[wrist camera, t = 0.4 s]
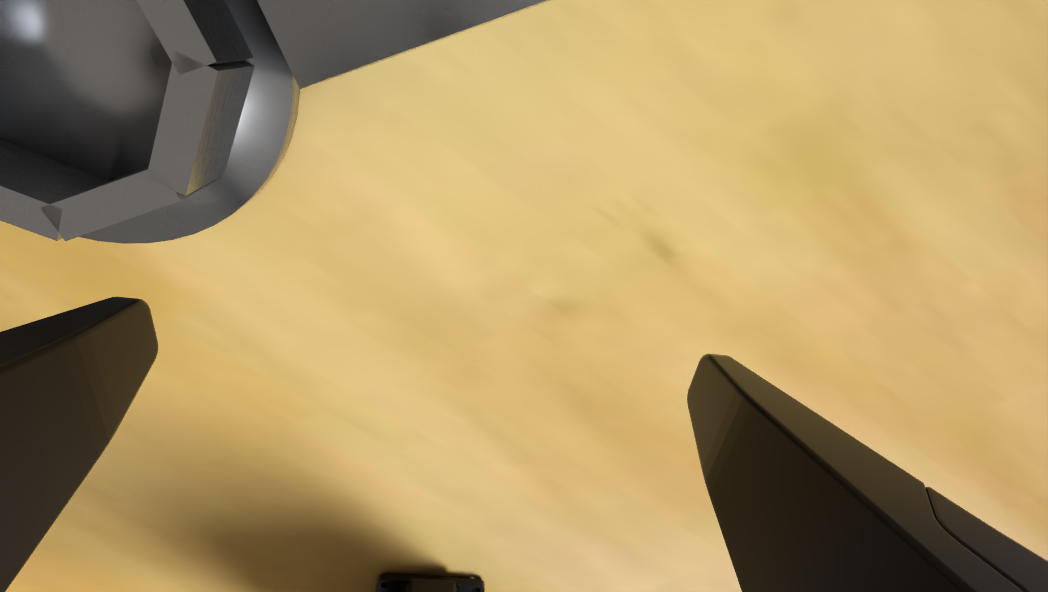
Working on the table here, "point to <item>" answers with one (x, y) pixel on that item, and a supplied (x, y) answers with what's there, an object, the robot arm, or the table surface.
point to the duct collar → (177, 100)
